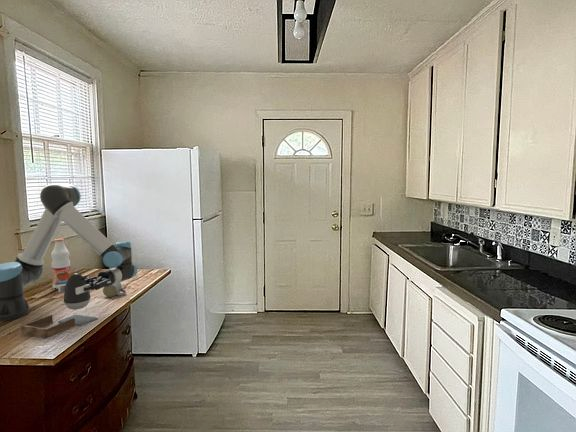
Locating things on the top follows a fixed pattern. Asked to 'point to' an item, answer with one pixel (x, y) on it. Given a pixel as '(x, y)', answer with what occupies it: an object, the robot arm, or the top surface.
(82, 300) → the pump dispenser
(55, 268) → the fruit juice
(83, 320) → the grey mat
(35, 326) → the walnut caddy
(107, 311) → the top surface
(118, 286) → the ceramic mug
